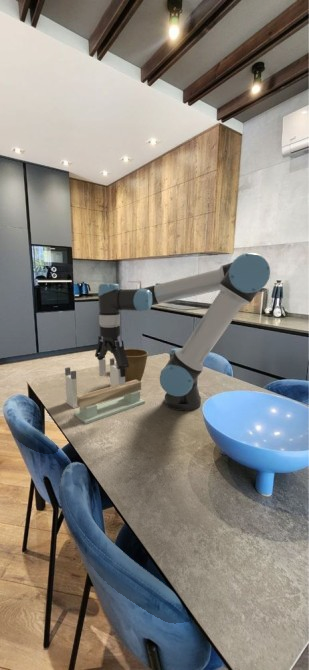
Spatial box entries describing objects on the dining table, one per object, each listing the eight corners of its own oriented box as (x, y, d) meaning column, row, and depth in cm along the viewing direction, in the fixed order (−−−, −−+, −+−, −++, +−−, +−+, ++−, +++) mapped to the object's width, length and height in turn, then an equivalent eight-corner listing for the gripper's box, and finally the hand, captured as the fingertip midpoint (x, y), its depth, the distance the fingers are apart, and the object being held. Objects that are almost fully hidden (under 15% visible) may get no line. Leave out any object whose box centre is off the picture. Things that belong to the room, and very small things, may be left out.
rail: (141, 389, 118) (141, 381, 117) (81, 408, 101) (81, 399, 100) (135, 387, 121) (135, 379, 120) (77, 405, 103) (76, 396, 103)
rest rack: (145, 403, 117) (145, 391, 116) (85, 424, 100) (85, 411, 99) (132, 396, 124) (132, 385, 123) (74, 414, 107) (73, 402, 106)
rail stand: (121, 393, 126) (121, 361, 123) (73, 408, 112) (71, 372, 108) (113, 388, 131) (112, 357, 128) (66, 402, 117) (64, 367, 114)
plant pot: (146, 390, 130) (147, 356, 127) (114, 389, 131) (114, 356, 127) (148, 378, 145) (148, 348, 142) (119, 378, 145) (118, 348, 142)
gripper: (138, 328, 98) (139, 386, 102) (101, 320, 117) (103, 369, 121) (120, 331, 93) (121, 391, 98) (84, 322, 112) (87, 373, 116)
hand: (111, 379), depth 109 cm, fingers open, 13 cm apart
